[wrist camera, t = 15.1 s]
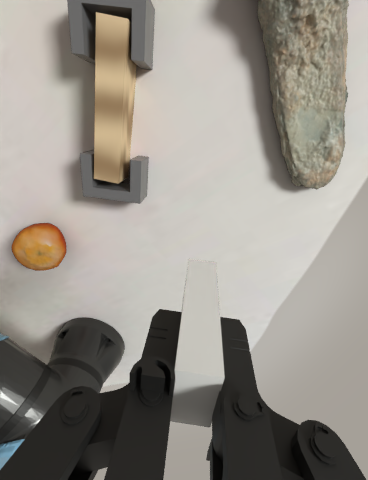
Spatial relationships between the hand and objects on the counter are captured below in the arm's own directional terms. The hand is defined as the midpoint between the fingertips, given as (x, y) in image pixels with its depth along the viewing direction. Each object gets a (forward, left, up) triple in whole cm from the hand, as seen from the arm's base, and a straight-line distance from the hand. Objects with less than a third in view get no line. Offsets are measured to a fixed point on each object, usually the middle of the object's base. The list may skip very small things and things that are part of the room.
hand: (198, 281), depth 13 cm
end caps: (+8, +13, -26) cm, 31 cm away
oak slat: (+8, +13, -27) cm, 31 cm away
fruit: (-14, +26, -27) cm, 40 cm away
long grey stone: (+17, -9, -27) cm, 33 cm away
